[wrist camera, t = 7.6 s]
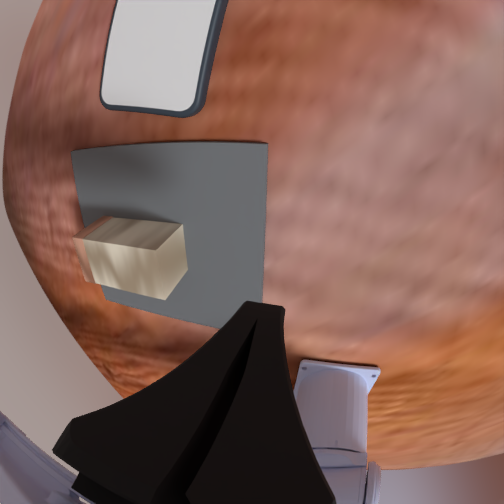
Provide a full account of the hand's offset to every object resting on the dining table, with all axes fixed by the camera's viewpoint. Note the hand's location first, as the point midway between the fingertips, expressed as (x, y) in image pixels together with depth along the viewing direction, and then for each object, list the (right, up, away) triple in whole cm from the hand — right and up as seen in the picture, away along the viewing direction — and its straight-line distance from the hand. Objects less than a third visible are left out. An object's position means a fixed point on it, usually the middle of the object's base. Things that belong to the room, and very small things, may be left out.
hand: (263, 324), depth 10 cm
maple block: (-6, +2, +10) cm, 12 cm away
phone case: (-6, +19, +4) cm, 21 cm away
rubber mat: (-8, +3, +13) cm, 15 cm away
